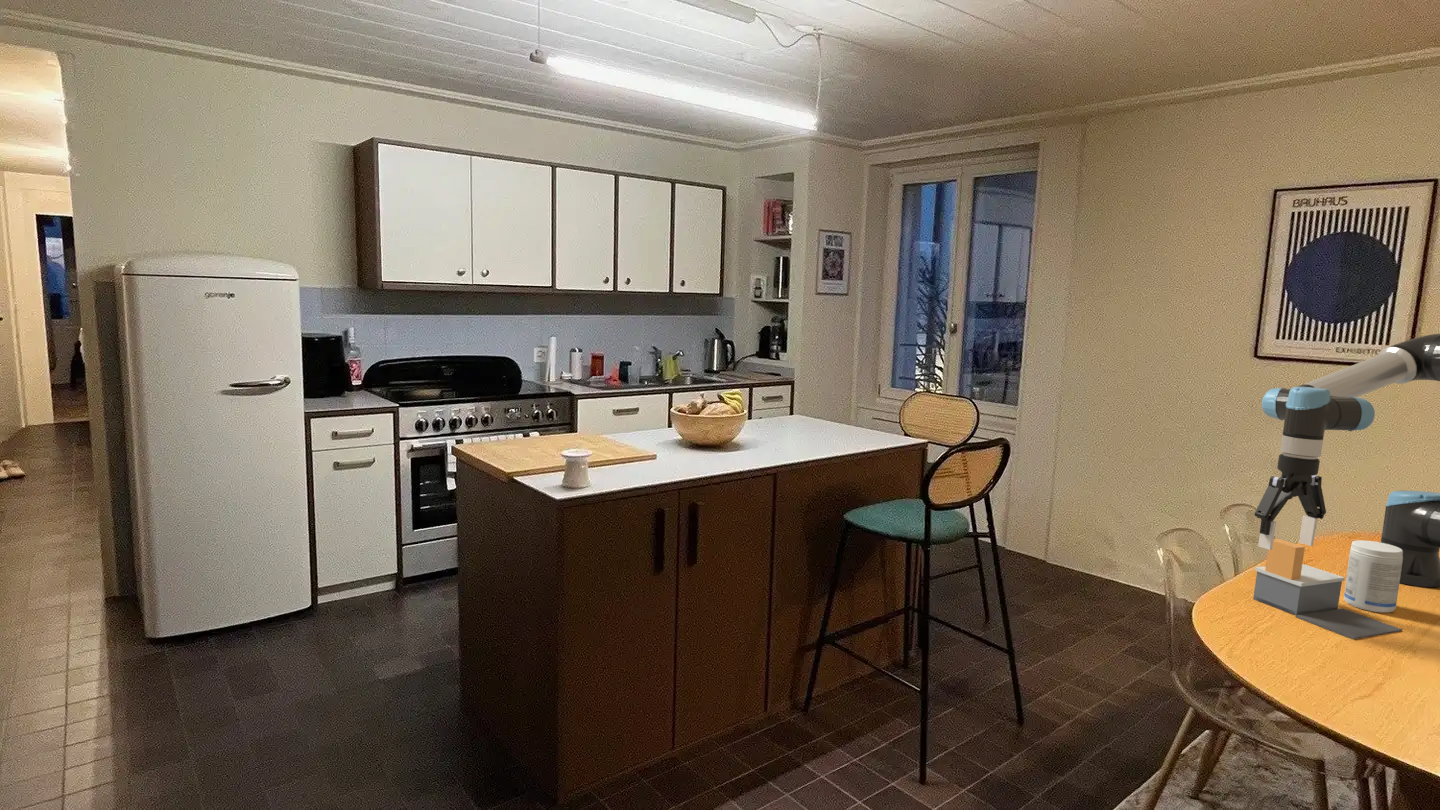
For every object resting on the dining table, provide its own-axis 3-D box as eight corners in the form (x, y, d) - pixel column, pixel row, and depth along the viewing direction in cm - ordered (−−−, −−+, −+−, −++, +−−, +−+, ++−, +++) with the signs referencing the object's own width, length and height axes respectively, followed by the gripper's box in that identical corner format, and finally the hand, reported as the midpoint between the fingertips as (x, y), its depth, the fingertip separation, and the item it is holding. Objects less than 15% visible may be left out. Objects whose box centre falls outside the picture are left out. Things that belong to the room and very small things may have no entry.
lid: (1297, 565, 192) (1302, 532, 191) (1344, 580, 182) (1349, 546, 181) (1255, 570, 187) (1259, 536, 186) (1301, 586, 177) (1306, 551, 176)
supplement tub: (1401, 609, 185) (1411, 548, 183) (1386, 617, 179) (1396, 555, 177) (1351, 595, 193) (1360, 537, 191) (1335, 602, 187) (1344, 542, 185)
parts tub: (1293, 593, 192) (1297, 565, 191) (1337, 609, 183) (1342, 580, 182) (1253, 599, 188) (1257, 570, 187) (1296, 615, 178) (1300, 586, 177)
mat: (1342, 609, 183) (1343, 608, 183) (1402, 631, 172) (1402, 629, 172) (1295, 617, 177) (1295, 615, 177) (1353, 639, 166) (1353, 637, 166)
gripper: (1319, 450, 186) (1305, 537, 189) (1244, 453, 177) (1231, 544, 180) (1354, 457, 179) (1339, 547, 182) (1277, 460, 170) (1263, 555, 173)
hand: (1285, 546), depth 181 cm, fingers open, 13 cm apart
